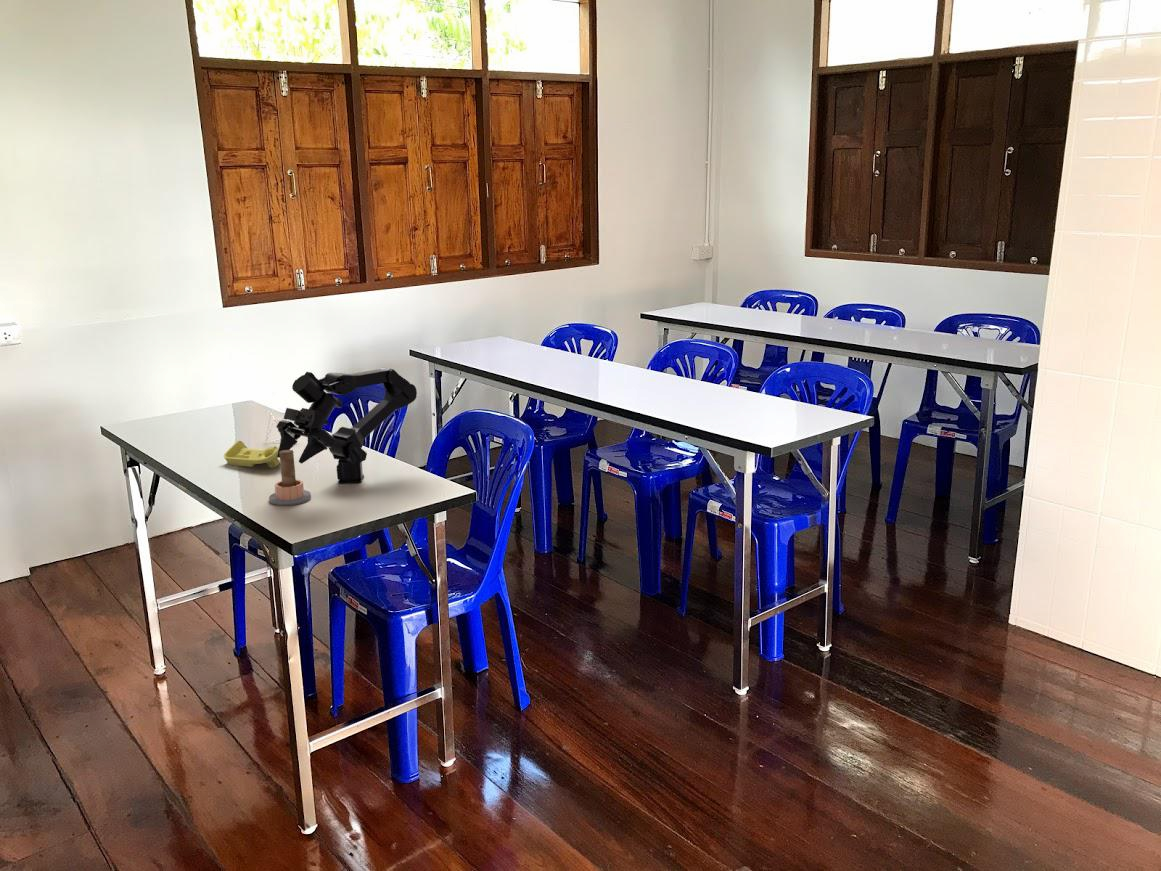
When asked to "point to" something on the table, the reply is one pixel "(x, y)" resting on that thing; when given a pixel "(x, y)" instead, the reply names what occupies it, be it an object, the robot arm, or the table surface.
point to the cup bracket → (289, 494)
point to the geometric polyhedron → (272, 426)
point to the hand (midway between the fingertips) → (289, 459)
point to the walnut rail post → (287, 468)
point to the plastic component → (251, 455)
